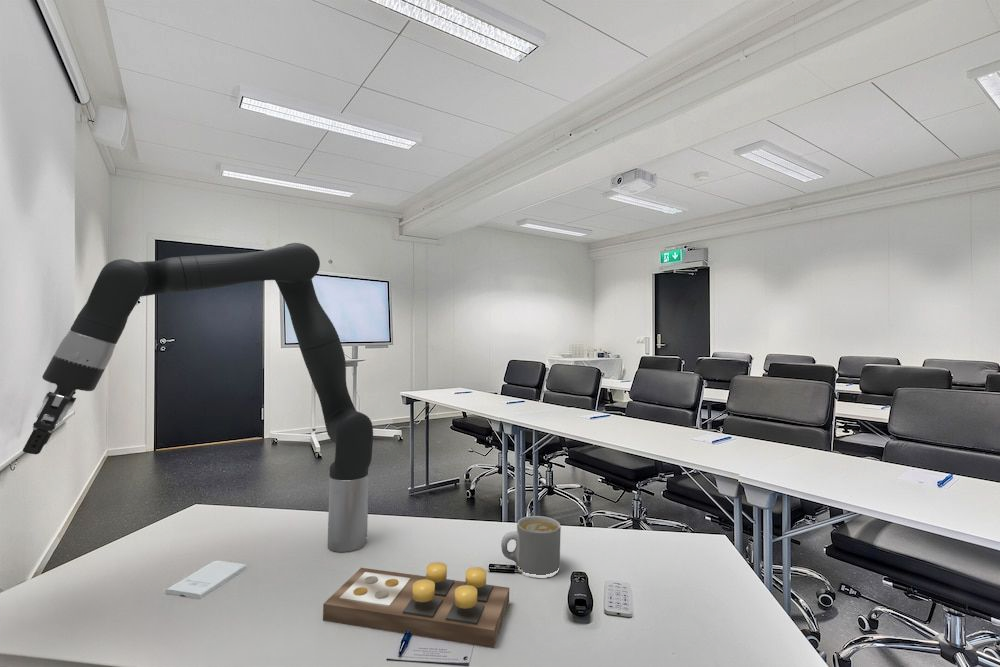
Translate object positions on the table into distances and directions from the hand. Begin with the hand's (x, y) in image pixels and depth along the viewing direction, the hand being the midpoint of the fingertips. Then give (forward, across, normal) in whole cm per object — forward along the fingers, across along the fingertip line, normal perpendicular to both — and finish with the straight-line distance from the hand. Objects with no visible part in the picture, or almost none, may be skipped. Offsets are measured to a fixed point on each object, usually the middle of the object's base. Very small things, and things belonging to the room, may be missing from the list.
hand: (34, 448), depth 82 cm
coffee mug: (-1, -34, -92) cm, 98 cm away
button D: (+3, -45, -66) cm, 80 cm away
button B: (+5, -39, -62) cm, 73 cm away
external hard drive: (+20, +1, -36) cm, 42 cm away
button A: (+3, -34, -66) cm, 75 cm away
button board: (+9, -35, -65) cm, 74 cm away
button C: (+1, -40, -71) cm, 82 cm away
